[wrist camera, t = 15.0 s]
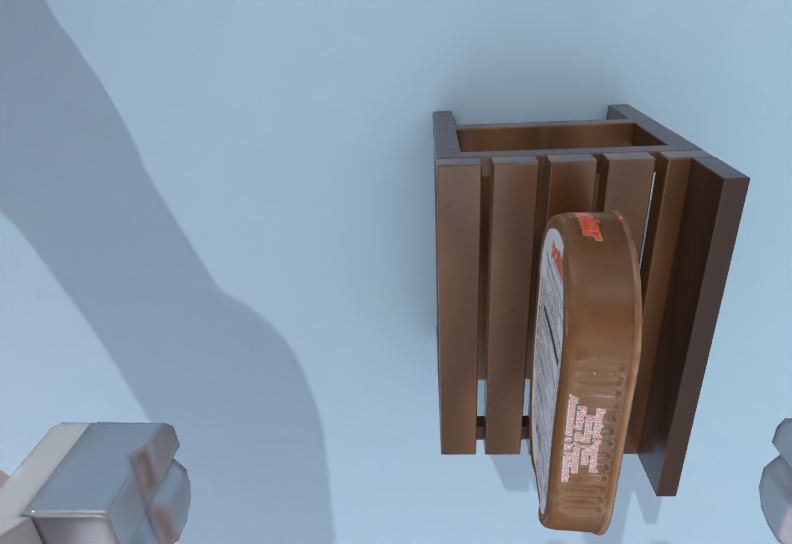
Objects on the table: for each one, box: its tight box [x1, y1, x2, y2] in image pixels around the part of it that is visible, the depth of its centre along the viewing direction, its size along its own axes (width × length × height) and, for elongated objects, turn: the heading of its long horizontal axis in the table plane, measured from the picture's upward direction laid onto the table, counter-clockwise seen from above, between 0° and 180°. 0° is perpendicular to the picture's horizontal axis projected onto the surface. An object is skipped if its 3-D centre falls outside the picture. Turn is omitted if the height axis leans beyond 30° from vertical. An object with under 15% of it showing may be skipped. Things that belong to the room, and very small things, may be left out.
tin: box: [529, 210, 643, 535], centre depth 25 cm, size 15×3×8 cm, turn 2°
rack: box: [433, 104, 750, 496], centre depth 33 cm, size 12×17×15 cm
